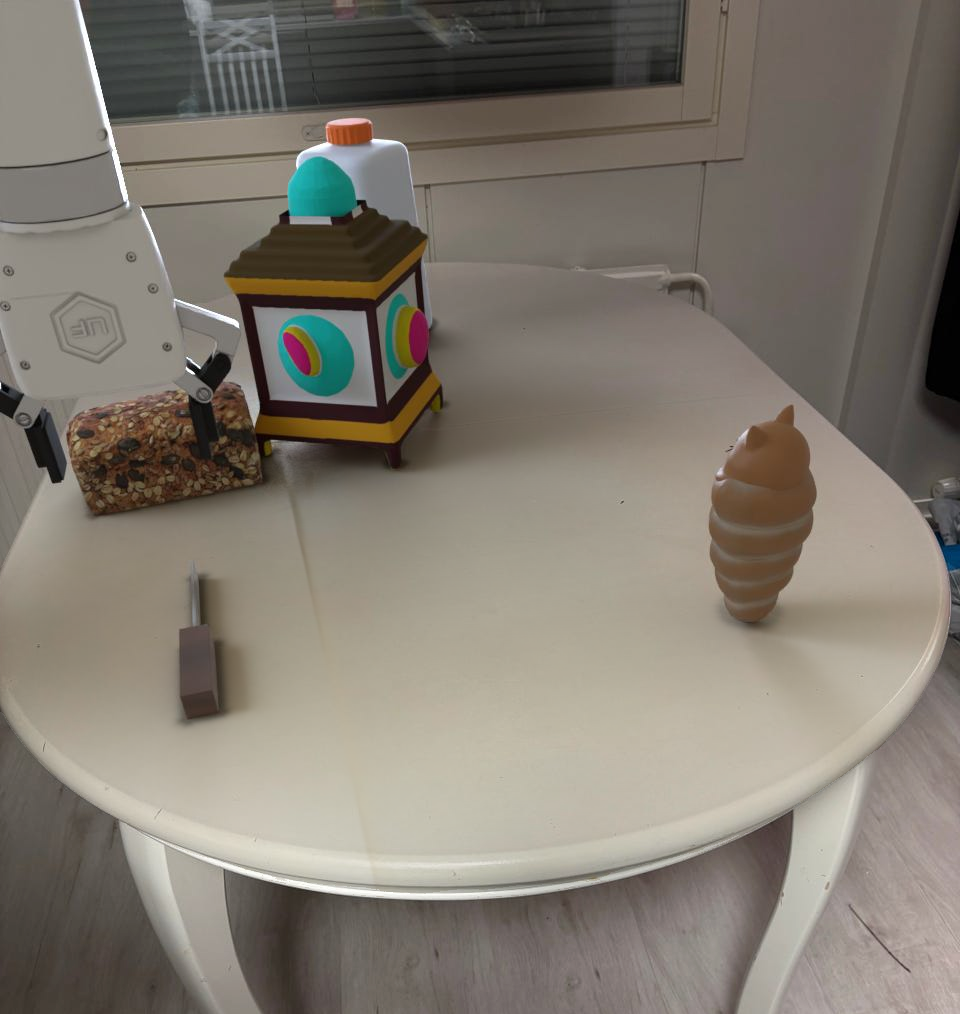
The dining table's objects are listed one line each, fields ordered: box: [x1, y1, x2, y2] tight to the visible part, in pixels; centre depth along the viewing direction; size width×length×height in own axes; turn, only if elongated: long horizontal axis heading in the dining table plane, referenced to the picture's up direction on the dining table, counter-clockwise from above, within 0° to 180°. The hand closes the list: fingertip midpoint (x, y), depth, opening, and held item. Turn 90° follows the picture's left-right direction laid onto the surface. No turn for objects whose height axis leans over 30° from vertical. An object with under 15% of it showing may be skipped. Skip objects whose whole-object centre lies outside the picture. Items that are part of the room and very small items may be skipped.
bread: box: [65, 380, 264, 517], centre depth 102 cm, size 19×11×10 cm, turn 108°
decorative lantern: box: [223, 156, 444, 471], centre depth 105 cm, size 20×20×30 cm
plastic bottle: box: [295, 117, 433, 329], centre depth 132 cm, size 15×15×28 cm
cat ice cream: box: [708, 404, 818, 623], centre depth 75 cm, size 9×8×18 cm
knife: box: [178, 560, 220, 720], centre depth 80 cm, size 20×2×3 cm, turn 15°
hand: (134, 463), depth 65 cm, fingers open, 9 cm apart
